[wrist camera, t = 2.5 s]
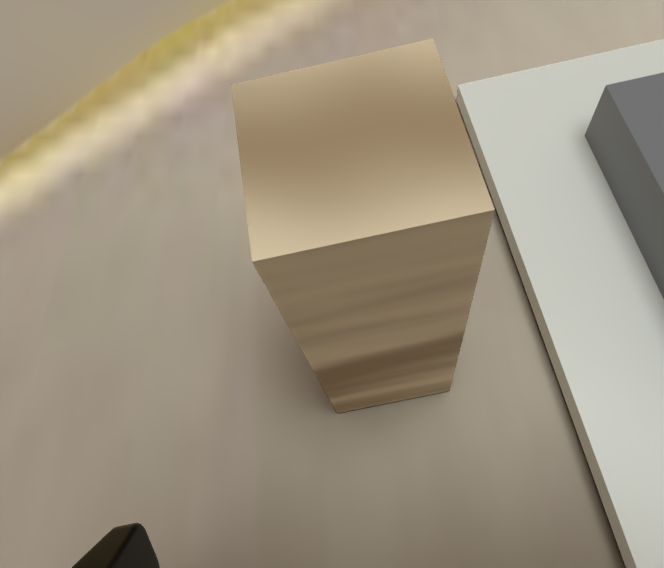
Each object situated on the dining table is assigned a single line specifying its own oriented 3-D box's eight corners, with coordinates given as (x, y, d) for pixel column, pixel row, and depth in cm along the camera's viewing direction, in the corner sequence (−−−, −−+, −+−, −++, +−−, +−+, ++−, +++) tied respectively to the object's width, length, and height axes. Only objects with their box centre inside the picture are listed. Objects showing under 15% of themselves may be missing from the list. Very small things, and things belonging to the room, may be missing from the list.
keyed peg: (449, 390, 22) (494, 209, 10) (337, 413, 22) (252, 261, 10) (416, 268, 24) (421, 8, 12) (315, 289, 24) (227, 52, 13)
